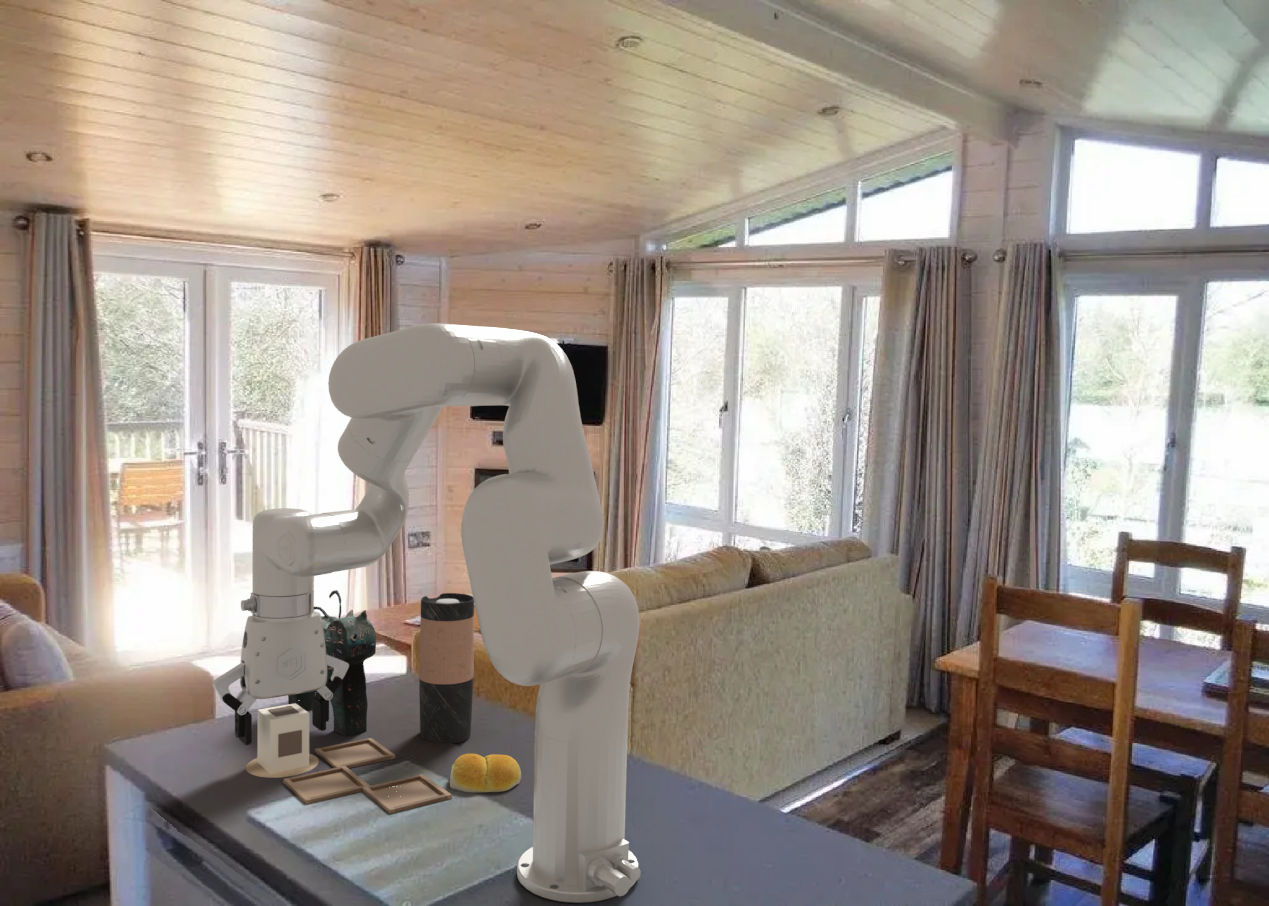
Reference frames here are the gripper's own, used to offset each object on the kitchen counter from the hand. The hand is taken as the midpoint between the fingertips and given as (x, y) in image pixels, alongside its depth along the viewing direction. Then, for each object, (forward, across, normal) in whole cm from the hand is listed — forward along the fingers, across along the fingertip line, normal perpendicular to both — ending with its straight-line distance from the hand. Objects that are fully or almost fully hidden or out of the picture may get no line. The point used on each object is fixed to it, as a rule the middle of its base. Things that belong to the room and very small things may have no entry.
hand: (282, 734), depth 133 cm
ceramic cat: (+5, +11, +14) cm, 18 cm away
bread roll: (+5, +19, -19) cm, 27 cm away
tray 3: (+4, +9, -18) cm, 21 cm away
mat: (+4, 0, 0) cm, 4 cm away
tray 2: (+4, +2, -10) cm, 11 cm away
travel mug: (+4, +23, -1) cm, 23 cm away
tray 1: (+4, +9, -2) cm, 10 cm away
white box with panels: (+4, 0, 0) cm, 4 cm away
